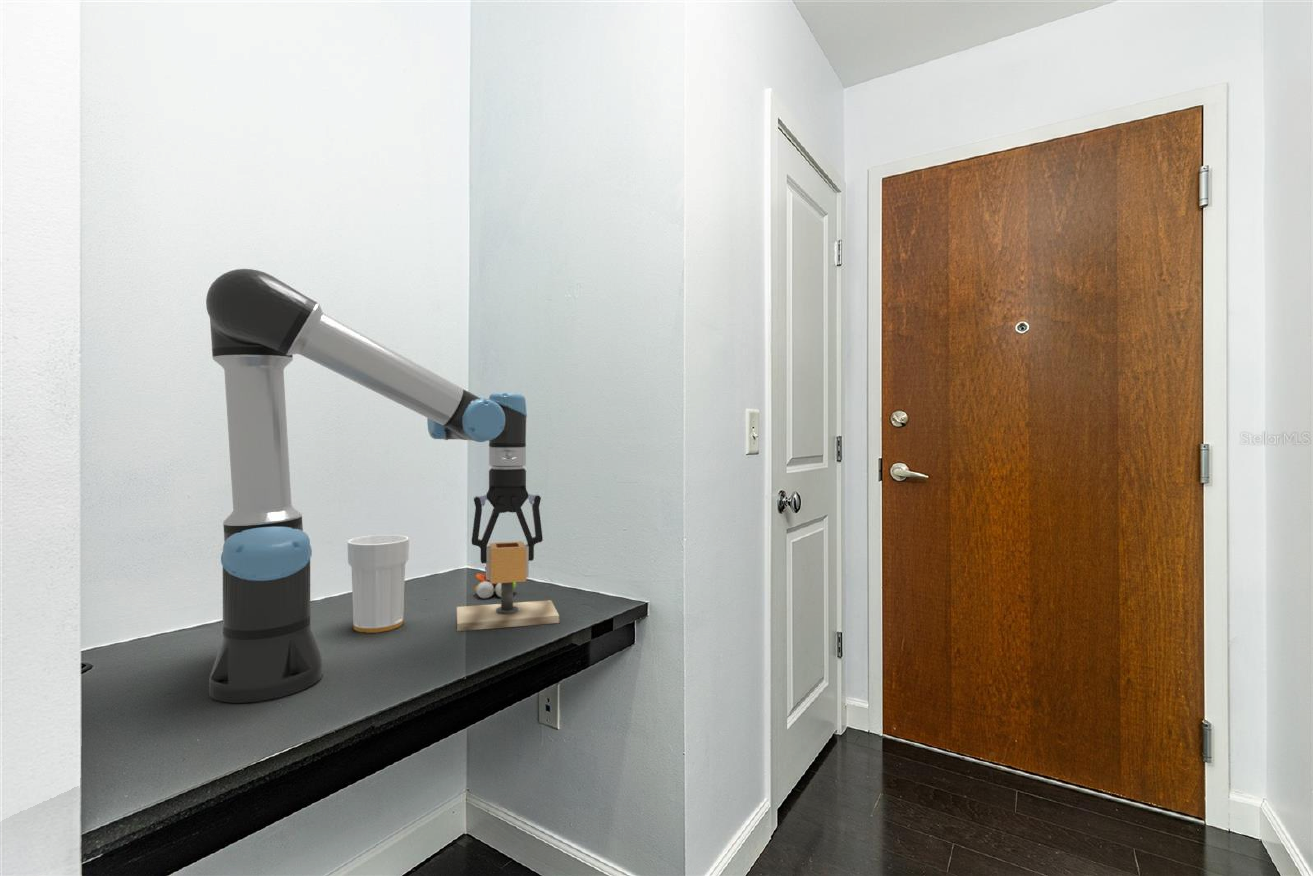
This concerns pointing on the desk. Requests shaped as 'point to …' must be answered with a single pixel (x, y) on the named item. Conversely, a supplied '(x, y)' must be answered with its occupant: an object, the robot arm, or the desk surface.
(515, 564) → the wooden pen holder
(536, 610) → the keeper
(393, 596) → the cup
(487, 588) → the colorful toy
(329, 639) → the desk surface
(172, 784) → the desk surface
